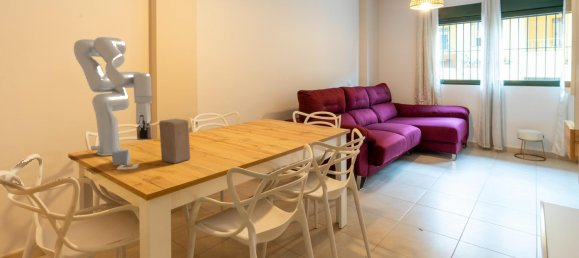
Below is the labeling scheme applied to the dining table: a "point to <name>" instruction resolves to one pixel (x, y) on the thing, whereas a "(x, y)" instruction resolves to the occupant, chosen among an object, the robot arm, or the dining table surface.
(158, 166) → the dining table surface
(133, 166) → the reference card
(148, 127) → the walnut cube
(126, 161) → the slate-grey cube
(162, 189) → the dining table surface
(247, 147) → the dining table surface
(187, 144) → the wooden block
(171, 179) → the dining table surface
